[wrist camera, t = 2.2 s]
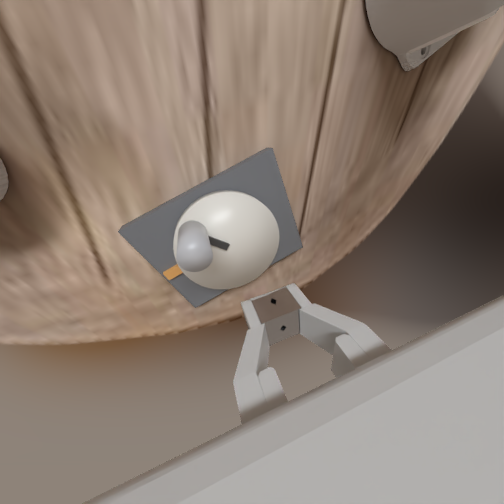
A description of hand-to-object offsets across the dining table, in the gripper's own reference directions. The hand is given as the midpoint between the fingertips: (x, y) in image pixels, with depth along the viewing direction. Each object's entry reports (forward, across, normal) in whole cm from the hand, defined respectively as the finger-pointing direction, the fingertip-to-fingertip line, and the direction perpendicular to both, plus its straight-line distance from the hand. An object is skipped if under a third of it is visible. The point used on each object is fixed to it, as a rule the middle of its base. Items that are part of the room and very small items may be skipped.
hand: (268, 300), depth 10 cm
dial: (+18, 0, +5) cm, 19 cm away
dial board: (+20, 0, +5) cm, 21 cm away
